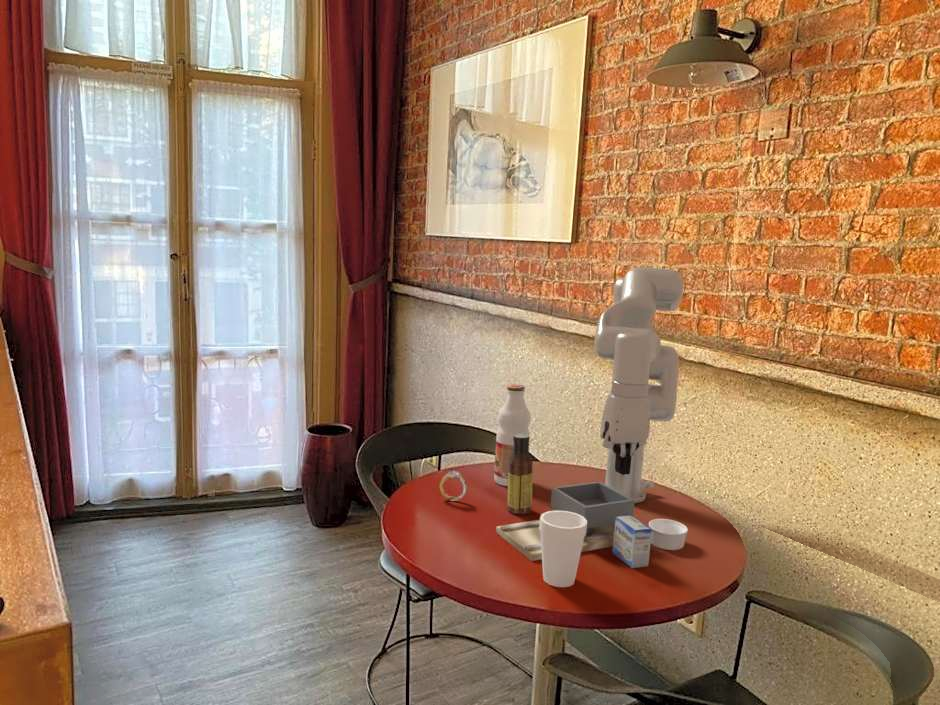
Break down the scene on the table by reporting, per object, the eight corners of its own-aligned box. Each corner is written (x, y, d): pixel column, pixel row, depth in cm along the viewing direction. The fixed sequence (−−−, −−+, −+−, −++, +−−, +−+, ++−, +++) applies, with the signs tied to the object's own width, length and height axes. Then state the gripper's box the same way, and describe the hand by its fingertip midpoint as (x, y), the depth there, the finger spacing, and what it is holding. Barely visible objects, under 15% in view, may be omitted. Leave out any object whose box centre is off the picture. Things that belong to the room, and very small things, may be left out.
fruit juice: (513, 490, 196) (519, 390, 192) (487, 481, 202) (492, 384, 198) (533, 482, 203) (539, 386, 199) (507, 474, 209) (513, 381, 205)
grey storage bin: (596, 509, 178) (599, 481, 177) (632, 530, 166) (634, 500, 165) (549, 516, 171) (551, 487, 170) (582, 539, 160) (585, 507, 158)
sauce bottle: (531, 507, 184) (536, 433, 180) (531, 516, 177) (536, 439, 174) (506, 505, 184) (510, 431, 181) (505, 514, 178) (509, 437, 175)
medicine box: (611, 553, 159) (614, 516, 157) (628, 551, 160) (631, 514, 159) (631, 569, 151) (634, 530, 150) (649, 566, 153) (652, 528, 152)
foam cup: (579, 571, 149) (584, 512, 147) (585, 592, 140) (590, 530, 138) (534, 568, 149) (538, 509, 147) (536, 589, 140) (541, 526, 138)
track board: (599, 516, 180) (600, 508, 180) (641, 541, 166) (642, 532, 166) (496, 532, 167) (496, 523, 166) (531, 561, 153) (532, 551, 152)
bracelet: (466, 500, 186) (468, 471, 185) (463, 504, 183) (465, 475, 182) (441, 496, 188) (443, 467, 187) (437, 500, 185) (439, 471, 184)
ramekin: (690, 542, 167) (692, 524, 167) (680, 555, 160) (682, 537, 159) (653, 532, 172) (654, 515, 171) (642, 545, 164) (643, 527, 163)
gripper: (646, 385, 158) (639, 464, 161) (590, 387, 152) (583, 470, 154) (668, 392, 151) (660, 475, 154) (611, 395, 145) (603, 481, 148)
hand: (622, 472), depth 154 cm, fingers closed
